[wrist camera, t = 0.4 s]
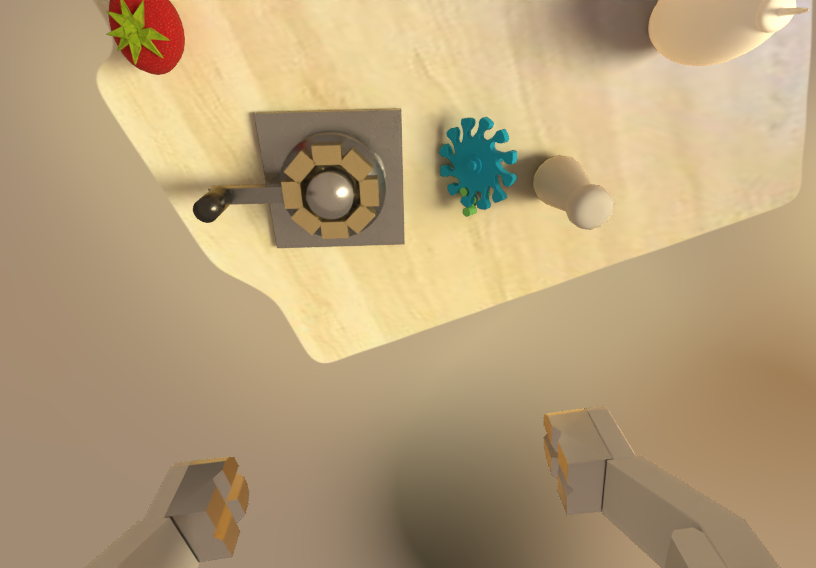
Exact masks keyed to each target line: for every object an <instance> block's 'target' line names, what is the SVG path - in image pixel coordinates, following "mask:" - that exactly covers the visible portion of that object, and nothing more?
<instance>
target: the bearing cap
mask: <svg viewBox="0 0 816 568" xmlns="http://www.w3.org/2000/svg"><path fill="white" fill-rule="evenodd" d="M254 115H255V121H256V127H257V133H258V139H259V144H260V150H261V156H262V162H263V168H264V174H265V180H266V184H281V182H282V180H283V179H284V178H291V177H289V176H288V175H287V174H286V173H285V172H284V171H285V170H286V168H287V167H288V166H289V165H290V164H291V162H292V161H293V160H294V159H295V158H296V156H297V155H298V154H299V153H300V152H301V150H302V149H303V148H305V149H307V150H308V151H309V152H310V153H311V154H312V147H311V146H312V145H313V143H318V142H342V149H343V156H344V155H345V154H346V153H347V152H348V151H349V150H350V148H351V147H352V146H353V147H354V148H355V149H356V150H358V151H359V152H360V153H361V154H362V155H363V156H364V157H365V158H366V159H367V160H368V161H369V162H370V163H372V164H373V170H372V171H371V172H370V173H369V174H368V175H378V183H379V206H371V207H372V208H374V209H375V210H376V215H375V217H374V218H373V219H372V220H371V221H370V222H369V223H368V224H367V225H366V226H365V227H364V228H363V229H362V230H361V231H360V232H359V233H358V234H357V233H356V232H355V231H354V230H352V229H351V228H350V227H349V230H350V233H349V238H335V239H322V232H321V226H320V227H319V228H318V229H317V231H316V232H315V233H314V234H313V235H311V234H310V233H308V232H307V231H306V230H305V229H303V228H302V227H301V226H300V225H298V224H297V223H296V222H295V221H293V220H292V219H291V217H292V215H293V213H294V212H295V211H296V210H297V209H285V205H284V203H270V209H271V215H272V221H273V226H274V232H275V238H276V244H277V248H300V247H332V246H364V245H396V244H404V205H403V164H402V123H401V109H369V110H329V111H288V112H256V113H254ZM303 185H304V193H305V200H306V202H307V203H308V205H309V207H310V208H311V210H312V211H313V212H314V213H315V214H317V215H318V216H320V217H322V218H325V219H337V218H340V217H342V216H347V215H348V214H349V213H350V212H351V211H352V210H353V209H354V208H355V207H356V206H357V205H358V204H359V203H360V202H361V199H360V185H359V181H358V180H357V179H356V178H355V177H354V176H352V175H351V174H350V173H349V172H348V171H347V170H346V169H345V168H344V167H342V166H341V165H315V166H314V167H313V169H312V170H311V171H310V172H309V173H308V174H307V176H306V177H305V178H304V179H303Z"/></svg>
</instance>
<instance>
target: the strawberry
mask: <svg viewBox="0 0 816 568" xmlns="http://www.w3.org/2000/svg"><path fill="white" fill-rule="evenodd" d="M106 12H107V13H108V14H109V22H110V27H111V31H112V32H109V33H108V34H107V35H111V36H113V37H114V39H115V41H116V43H117V46H118V50H117V51H120V50H121V52H122V54H123V55H124V56H125V57H126V58H127V60H128V61H130V62H131V63H132V64H133V65H134V66H136V67H137V68H139V69H140V70H143V71H145V72H148V73H151V74H156V75H160V74H165V73H168V72H170V71H171V70H172V69H173V68H174V67H175V66H176V64H177V63H178V62H179V60H180V59H181V57H182V54H183V51H184V44H185V37H184V29H183V25H182V22H181V19H180V17H179V15H178V13H177V11H176V9H175V7H174V6H173V5H172V3H171V2H170V1H169V0H110V4H109V11H106Z"/></svg>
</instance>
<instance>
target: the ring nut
mask: <svg viewBox="0 0 816 568" xmlns="http://www.w3.org/2000/svg"><path fill="white" fill-rule="evenodd" d="M311 147H312V154H311V153H310V152H309V151H308V150H307V149H305V148H303V149H302V150H301V152H300V153H299V154H298V155H297V156H296V158H295V159H294V160H293V161H292V162H291V164H290V165H289V166H288V167H287V168H286V170H285V171H284V172H285V173H286V174H287V175H288V176H289V177H291V178H284V179H283V180H282V182H281V184H260V185H225V186H211V187H210V188H209V189H208V190H209V192H208V193H206V194H205V195H204V196H203V197H202V198H200V199H199V200H198V201H197V202H196V203H195V204H194V206H193V212H194V215H195V216H196V218H197V219H199V220H200V221H202V222H206V223H210V222H213V221H214V220H215V219H216V218H217V217H218V216H219V215H220V214H221V213H222V212H223V211H224V210H225V209H226V208H227V207H228V206H229V205H230V204H263V203H284V205H285V209H297V210H296V211H295V212H294V213H293V215H292V217H291V219H292V220H293V221H295V222H296V223H297V224H298V225H300V226H301V227H302V228H303V229H305V230H306V231H307V232H308V233H310V234H311V235H313V234H314V233H315V232H316V231H317V229H318V228H319V227H320V226H321V232H322V239H335V238H349V233H350V230H349V227H350V228H351V229H352V230H354V231H355V232H356V233H357V234H358V233H359V232H360V231H361V230H362V229H363V228H364V227H365V226H366V225H367V224H368V223H369V222H370V221H371V220H372V219H373V218H374V217H375V215H376V210H375V209H374V208H372V207H371V206H379V183H378V175H368V174H369V173H370V172H371V171H372V170H373V164H372V163H370V162H369V161H368V160H367V159H366V158H365V157H364V156H363V155H362V154H361V153H360V152H359V151H358V150H356V149H355V148H354V147H353V146H352V147H351V148H350V150H349V151H348V152H347V153H346V154H345V155H344V156H343V149H342V142H318V143H313V145H312V146H311ZM315 165H341V166H342V167H344V168H345V169H346V170H347V171H348V172H349V173H350V174H351V175H352V176H354V177H355V178H356V179H357V180H358V181H359V185H360V199H361V202H360V203H359V204H358V205H357V206H356V207H355V208H354V209H353V210H352V211H351V212H350V213H349V214H348V215H347V216H342V217H340V218H337V219H325V218H322V217H320V216H318V215H317V214H315V213H314V212H313V211H312V210H311V208H310V207H309V205H308V203H307V202H306V200H305V193H304V185H303V179H304V178H305V177H306V176H307V174H308V173H309V172H310V171H311V170H312V169H313V167H314V166H315Z"/></svg>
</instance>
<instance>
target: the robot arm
mask: <svg viewBox="0 0 816 568" xmlns="http://www.w3.org/2000/svg"><path fill="white" fill-rule="evenodd" d="M544 427H545V429H546V432H547V434H546V435H545V436H544V449H545V454H546V460H547V463H548V467H549V470H550V472H551V475H552V476H553V477H555V478H556V479H557V491H558V493H559V497H560V499H561V501H562V504H563V507H564V509H565V512H566V515H572V514H583V513H593V512H602V514H603V515H604V516H605V517H606V518H608V519H609V520H610V521H611V522H612V523H613V524H614V525H615V526H616V527H617V528H618V529H620V530H621V531H622V532H623V533H624V534H625V535H626V536H627V537H628V538H629V539H630V540H632V541H633V542H634V543H635V544H636V545H637V546H638V547H639V548H640V549H641V550H643V551H644V552H645V553H646V554H647V555H648V556H649V557H650V558H651V559H652V560H653V561H655V562H656V563H657V564H658V565H659V566H660V567H661V568H780V567H779V565H778V564H777V562H776V561H775V560H774V558H773V557H772V556H771V554H770V553H769V551H768V550H767V549H766V547H765V546H764V545H763V544H762V542H761V541H760V539H759V538H758V537H757V535H756V534H755V533H754V531H753V530H752V528H751V527H750V526H749V524H748V523H747V522H746V520H744V519H743V518H741V517H740V516H738V515H737V514H735V513H733V512H732V511H730V510H728V509H727V508H725V507H724V506H722V505H720V504H719V503H717V502H716V501H714V500H712V499H711V498H709V497H708V496H706V495H704V494H703V493H701V492H700V491H698V490H696V489H695V488H693V487H692V486H690V485H688V484H687V483H685V482H684V481H682V480H681V479H679V478H677V477H676V476H674V475H672V474H671V473H669V472H668V471H666V470H664V469H663V468H661V467H660V466H658V465H656V464H655V463H653V462H652V461H650V460H649V459H647V458H645V457H644V456H636V455H635V453H634V452H633V450H632V448H631V447H630V445H629V443H628V442H627V440H626V438H625V437H624V435H623V433H622V432H621V430H620V428H619V427H618V425H617V423H616V422H615V420H614V418H613V417H612V415H611V413H610V412H609V410H608V408H607V407H605V406H596V407H589V408H584V409H574V410H568V411H561V412H554V413H547V414H545V415H544ZM238 466H239V465H238V463H237V461H236V460H235V458H234V457H223V458H214V459H204V460H196V461H189V462H180V463H175V464H174V465H173V466H172V467H170V469H169V471H168V473H167V475H166V477H165V478H164V480H163V482H162V484H161V486H160V488H159V490H158V492H157V494H156V496H155V498H154V500H153V502H152V504H151V505H150V508H149V509H148V511H147V513H146V515H145V517H144V519H143V521H138V522H136V523H135V524H134V525H132V526H131V527H130V528H129V529H128V530H127V531H126V532H124V533H123V534H122V535H121V536H120V537H119V538H118V539H116V540H115V541H114V542H113V543H112V544H111V545H110V546H108V547H107V548H106V549H105V550H104V551H103V552H102V553H101V554H99V555H98V556H97V557H96V558H95V559H94V560H93V561H92V562H90V563H89V564H88V565H87V566H86V567H85V568H197V567H198V565H199V563H198V562H204V561H210V560H217V559H223V558H230V557H232V556H233V553H234V549H235V547H236V543H237V540H238V537H239V534H240V530H239V527H238V525H237V523H238V522H239V521H240V520H241V519H242V518H243V517H244V515H245V514H246V510H247V507H248V500H249V490H248V484H247V482H246V480H245V477H243V476H242V475H240V474H238V473H237V469H238Z"/></svg>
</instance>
